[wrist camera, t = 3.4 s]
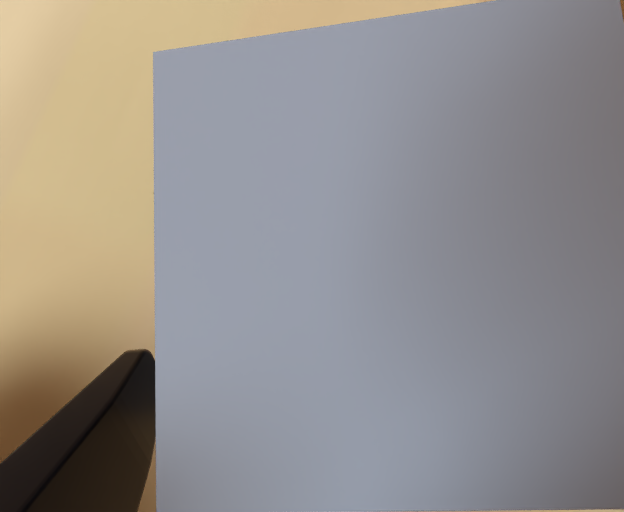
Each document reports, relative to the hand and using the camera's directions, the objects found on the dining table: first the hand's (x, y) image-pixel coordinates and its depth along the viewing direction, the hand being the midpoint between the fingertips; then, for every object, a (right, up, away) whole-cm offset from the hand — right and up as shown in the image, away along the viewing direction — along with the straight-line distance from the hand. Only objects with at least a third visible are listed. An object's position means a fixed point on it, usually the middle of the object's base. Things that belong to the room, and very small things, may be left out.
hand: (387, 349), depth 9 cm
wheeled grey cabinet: (+1, 0, +9) cm, 9 cm away
